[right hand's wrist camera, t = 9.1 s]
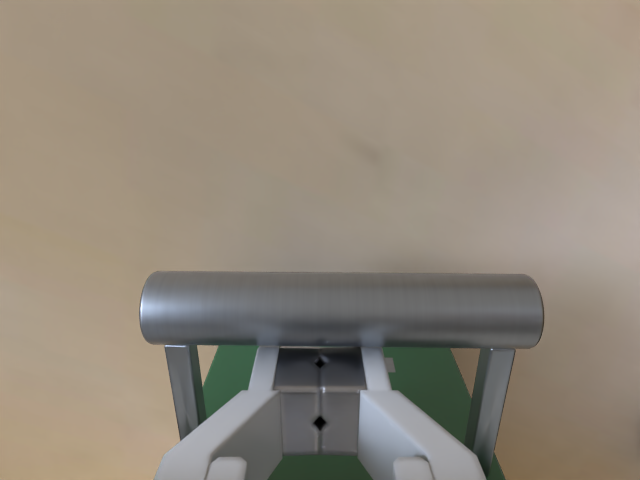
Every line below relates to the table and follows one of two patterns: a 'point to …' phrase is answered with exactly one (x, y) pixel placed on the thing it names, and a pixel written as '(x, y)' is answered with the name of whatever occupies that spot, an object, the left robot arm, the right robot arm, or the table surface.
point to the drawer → (348, 342)
